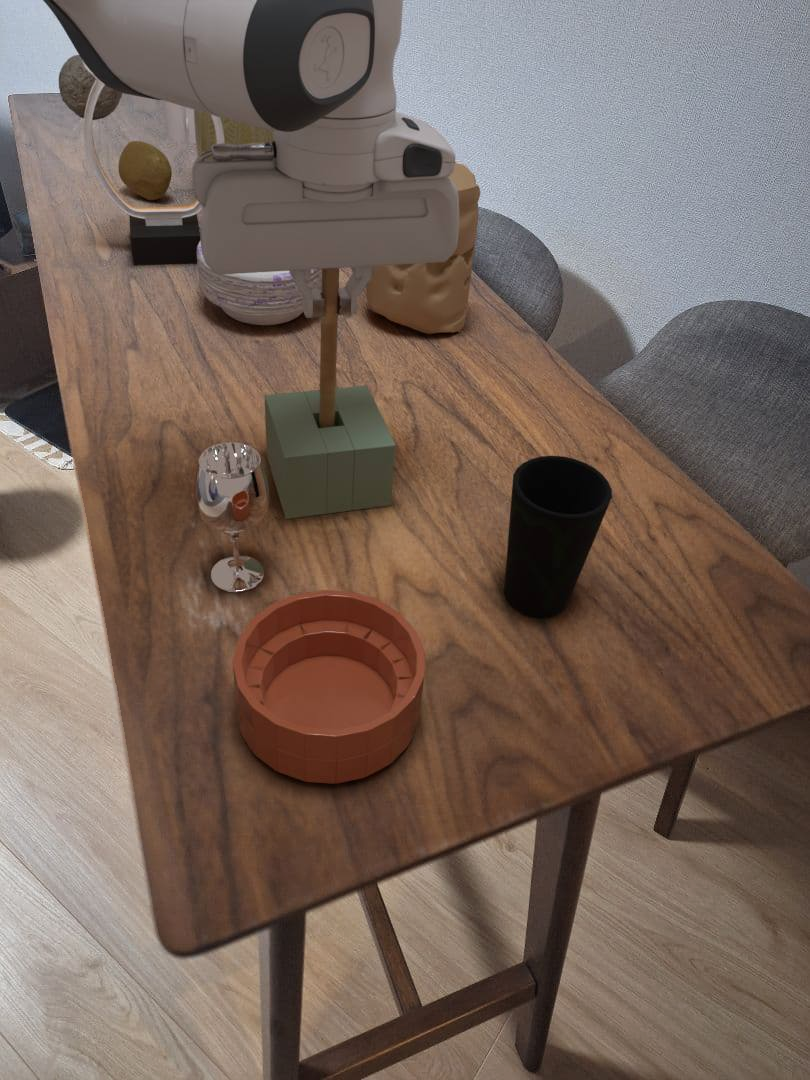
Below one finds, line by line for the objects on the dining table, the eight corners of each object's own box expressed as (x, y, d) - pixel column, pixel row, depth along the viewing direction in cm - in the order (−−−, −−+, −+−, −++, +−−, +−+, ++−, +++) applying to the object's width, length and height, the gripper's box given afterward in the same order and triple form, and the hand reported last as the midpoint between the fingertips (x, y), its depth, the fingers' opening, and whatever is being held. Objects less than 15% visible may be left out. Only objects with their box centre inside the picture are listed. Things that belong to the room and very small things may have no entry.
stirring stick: (319, 480, 87) (324, 261, 72) (316, 472, 88) (320, 254, 73) (334, 479, 87) (341, 260, 73) (331, 470, 88) (337, 253, 74)
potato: (122, 188, 137) (114, 133, 132) (174, 188, 138) (169, 133, 133) (120, 207, 132) (112, 150, 126) (174, 207, 133) (169, 150, 128)
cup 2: (598, 596, 79) (631, 487, 71) (545, 641, 74) (574, 530, 66) (527, 551, 82) (551, 443, 74) (473, 592, 78) (492, 481, 70)
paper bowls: (306, 347, 106) (306, 284, 101) (181, 326, 108) (175, 262, 102) (339, 290, 117) (341, 230, 112) (226, 272, 119) (222, 212, 114)
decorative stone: (62, 126, 155) (51, 62, 148) (66, 110, 161) (55, 48, 154) (125, 127, 157) (117, 63, 150) (126, 111, 163) (118, 49, 156)
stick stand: (285, 519, 83) (284, 457, 78) (266, 455, 90) (264, 394, 86) (391, 505, 86) (396, 444, 81) (364, 444, 93) (367, 385, 88)
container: (442, 288, 120) (457, 147, 108) (481, 335, 111) (502, 187, 99) (351, 298, 116) (356, 153, 104) (384, 347, 107) (394, 195, 95)
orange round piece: (254, 806, 61) (251, 753, 57) (226, 659, 70) (221, 605, 66) (441, 766, 64) (449, 714, 60) (390, 631, 74) (395, 578, 70)
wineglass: (267, 600, 75) (262, 486, 67) (197, 595, 75) (184, 480, 67) (275, 553, 80) (272, 440, 72) (209, 548, 79) (198, 435, 72)
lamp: (227, 234, 128) (211, -29, 107) (233, 261, 121) (218, -11, 100) (102, 237, 124) (60, -34, 103) (101, 266, 118) (57, -16, 97)
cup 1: (161, 149, 150) (154, 84, 143) (169, 125, 159) (163, 62, 152) (211, 152, 151) (207, 86, 144) (217, 127, 160) (213, 65, 153)
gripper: (195, 160, 62) (208, 341, 71) (476, 153, 67) (455, 322, 77) (184, 129, 67) (198, 303, 76) (449, 125, 72) (432, 288, 81)
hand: (329, 313), depth 76 cm, fingers closed on stirring stick, 1 cm apart
